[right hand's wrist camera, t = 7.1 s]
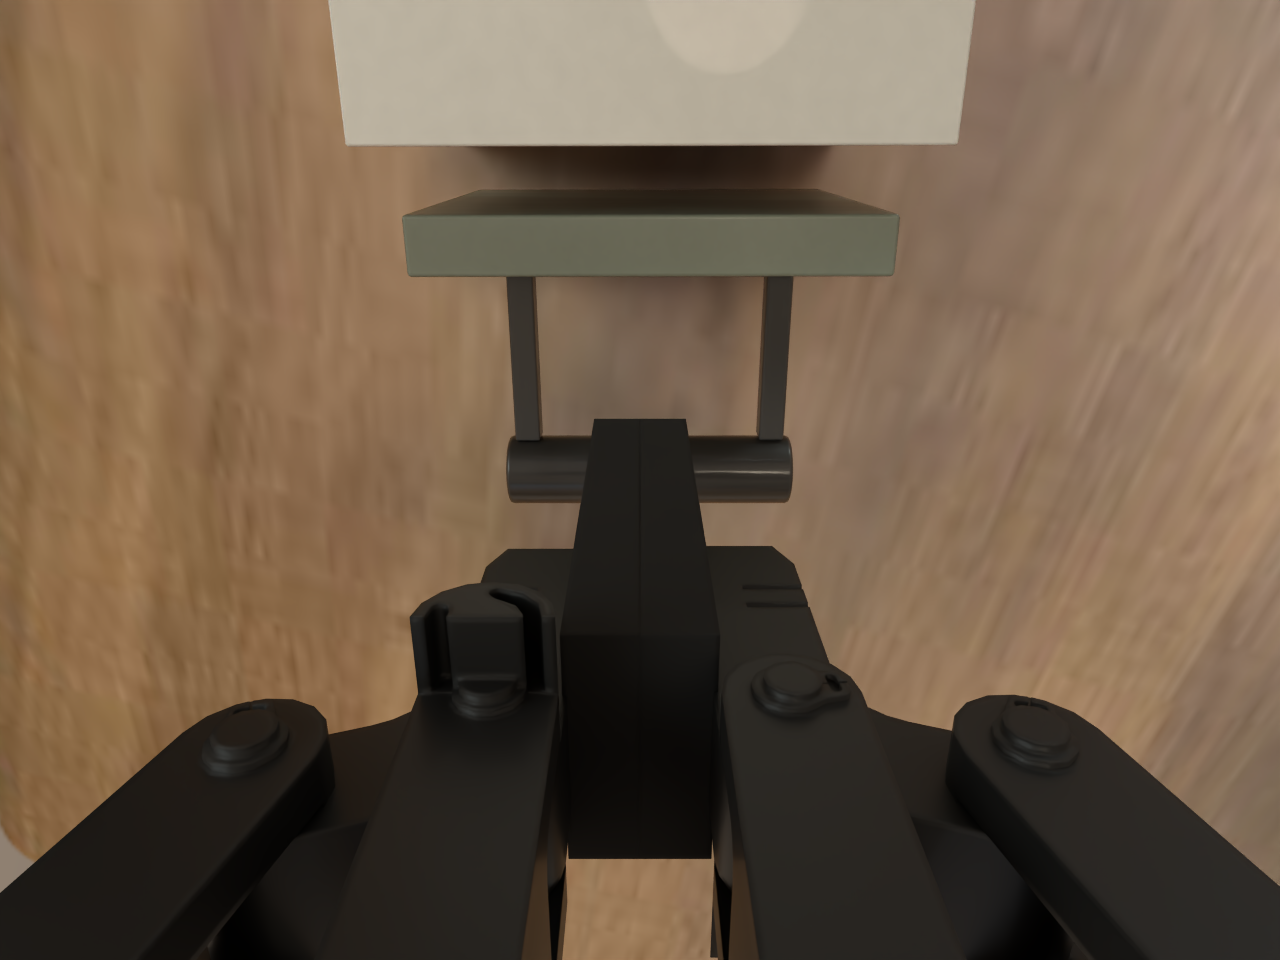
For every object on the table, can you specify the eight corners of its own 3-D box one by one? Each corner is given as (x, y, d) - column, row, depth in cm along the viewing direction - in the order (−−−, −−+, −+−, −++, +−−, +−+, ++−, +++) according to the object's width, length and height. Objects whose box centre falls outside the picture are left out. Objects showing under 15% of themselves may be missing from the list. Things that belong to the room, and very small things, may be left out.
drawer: (802, 426, 27) (866, 544, 19) (494, 427, 27) (434, 544, 19) (872, -560, 19) (1035, -1055, 11) (427, -557, 19) (273, -1047, 11)
